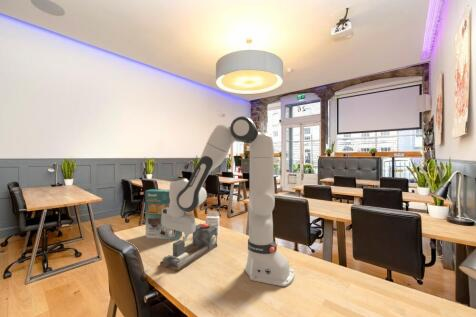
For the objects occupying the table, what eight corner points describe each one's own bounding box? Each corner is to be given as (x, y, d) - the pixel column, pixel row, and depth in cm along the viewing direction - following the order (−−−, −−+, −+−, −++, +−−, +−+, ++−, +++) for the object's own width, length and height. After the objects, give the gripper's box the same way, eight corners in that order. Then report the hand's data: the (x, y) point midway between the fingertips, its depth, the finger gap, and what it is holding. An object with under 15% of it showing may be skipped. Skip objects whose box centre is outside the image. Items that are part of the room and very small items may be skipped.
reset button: (209, 226, 127) (209, 224, 126) (205, 228, 123) (205, 226, 123) (204, 225, 128) (204, 223, 128) (199, 227, 125) (199, 225, 125)
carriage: (188, 258, 109) (188, 241, 109) (179, 263, 104) (179, 246, 104) (178, 254, 113) (178, 238, 112) (169, 259, 107) (169, 243, 107)
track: (217, 246, 127) (217, 227, 126) (178, 272, 100) (178, 247, 99) (201, 242, 133) (201, 223, 132) (160, 265, 106) (159, 241, 105)
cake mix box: (182, 235, 142) (181, 190, 141) (178, 239, 136) (177, 192, 135) (150, 233, 145) (150, 189, 144) (145, 237, 139) (145, 190, 138)
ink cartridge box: (205, 234, 144) (205, 212, 144) (207, 232, 149) (207, 210, 149) (218, 235, 143) (218, 213, 143) (219, 232, 148) (219, 211, 148)
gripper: (198, 212, 105) (198, 240, 106) (168, 206, 115) (168, 232, 116) (189, 216, 100) (189, 245, 100) (159, 209, 110) (158, 236, 110)
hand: (177, 238), depth 108 cm, fingers open, 8 cm apart
